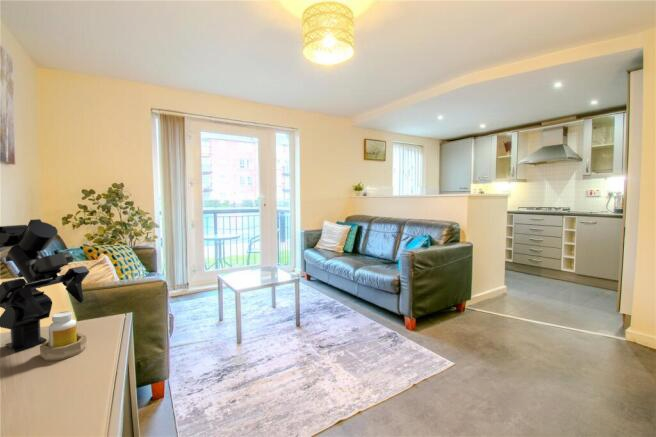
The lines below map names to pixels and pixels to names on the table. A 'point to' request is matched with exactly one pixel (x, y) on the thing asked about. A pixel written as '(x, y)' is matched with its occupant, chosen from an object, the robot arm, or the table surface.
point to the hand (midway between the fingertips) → (63, 307)
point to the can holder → (63, 349)
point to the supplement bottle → (62, 330)
